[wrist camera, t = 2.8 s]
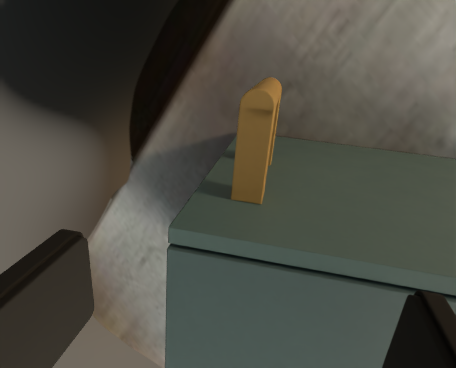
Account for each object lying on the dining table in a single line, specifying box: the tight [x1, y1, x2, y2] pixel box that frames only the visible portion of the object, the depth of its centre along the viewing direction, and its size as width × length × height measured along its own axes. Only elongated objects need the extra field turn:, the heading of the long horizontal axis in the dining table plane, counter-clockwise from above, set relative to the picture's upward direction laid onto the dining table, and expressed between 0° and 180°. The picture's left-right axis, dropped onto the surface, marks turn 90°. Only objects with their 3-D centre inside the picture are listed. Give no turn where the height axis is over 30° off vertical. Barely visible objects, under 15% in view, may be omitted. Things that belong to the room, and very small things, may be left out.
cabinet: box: [165, 244, 456, 368], centre depth 30 cm, size 18×26×24 cm
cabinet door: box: [168, 77, 456, 296], centre depth 25 cm, size 8×26×24 cm, turn 85°
